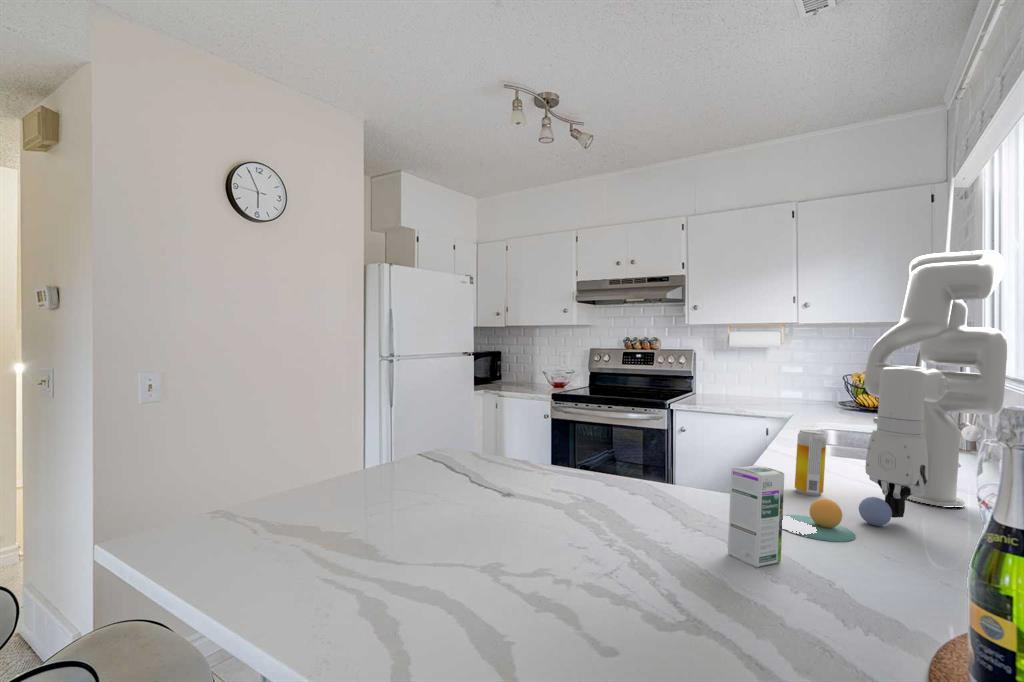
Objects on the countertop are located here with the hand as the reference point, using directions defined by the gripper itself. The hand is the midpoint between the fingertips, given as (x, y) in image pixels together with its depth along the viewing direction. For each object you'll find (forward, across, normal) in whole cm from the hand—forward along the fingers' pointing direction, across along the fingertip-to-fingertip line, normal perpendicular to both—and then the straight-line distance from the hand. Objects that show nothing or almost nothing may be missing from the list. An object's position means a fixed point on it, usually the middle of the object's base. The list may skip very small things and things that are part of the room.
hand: (894, 515), depth 108 cm
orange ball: (-1, 0, -18) cm, 18 cm away
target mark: (+2, 0, -21) cm, 21 cm away
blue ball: (-1, 0, -6) cm, 6 cm away
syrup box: (+2, +11, -44) cm, 46 cm away
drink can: (+2, -21, 0) cm, 21 cm away
